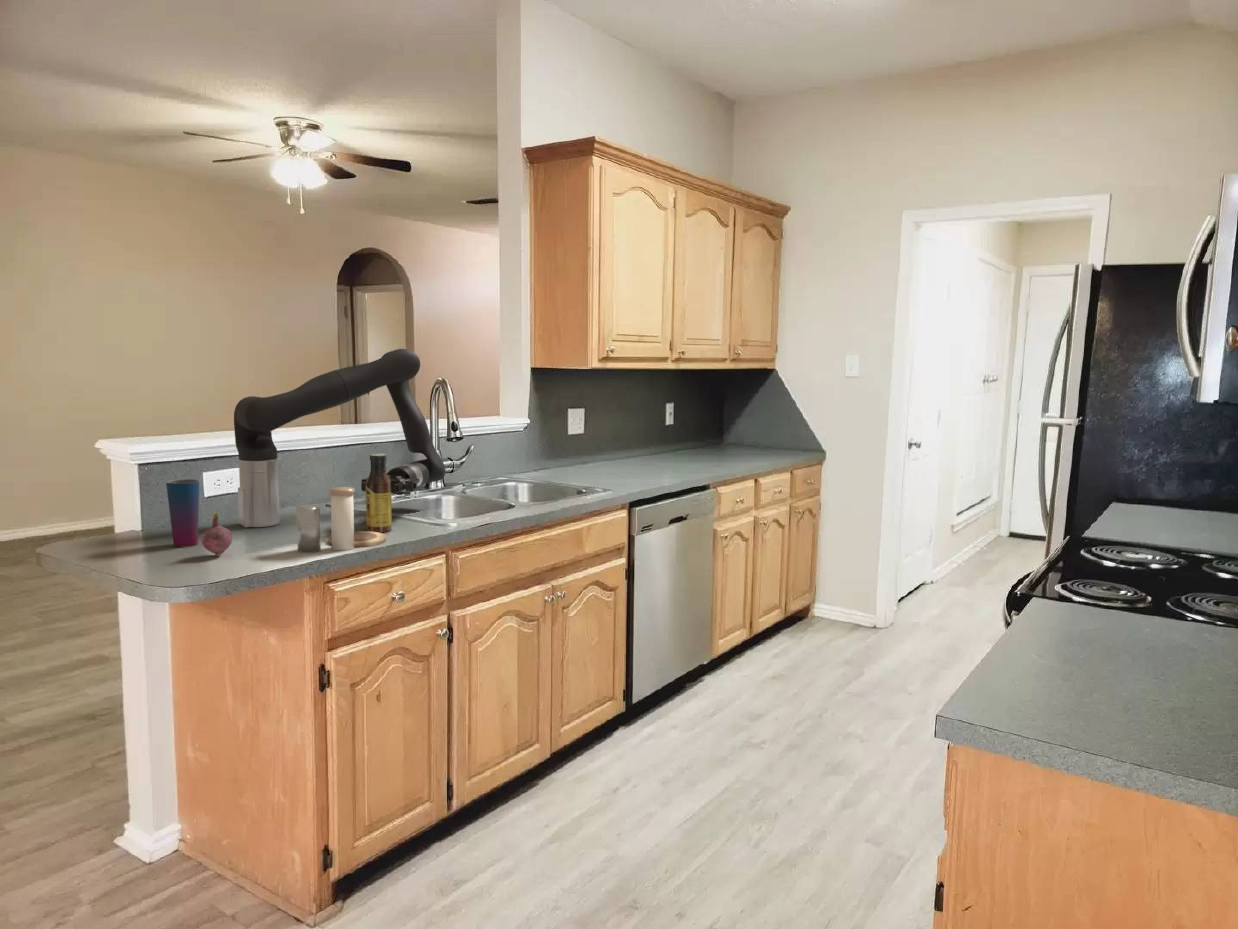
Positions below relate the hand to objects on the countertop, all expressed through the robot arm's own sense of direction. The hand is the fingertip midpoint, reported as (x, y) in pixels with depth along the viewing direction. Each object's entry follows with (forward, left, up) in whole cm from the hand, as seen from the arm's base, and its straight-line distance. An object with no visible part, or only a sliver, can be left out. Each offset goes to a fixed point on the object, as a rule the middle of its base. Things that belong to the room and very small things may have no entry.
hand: (379, 488), depth 213 cm
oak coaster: (-9, -9, -11) cm, 17 cm away
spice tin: (-21, -12, -11) cm, 27 cm away
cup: (-44, +7, -11) cm, 46 cm away
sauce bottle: (0, 0, -11) cm, 11 cm away
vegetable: (-40, -8, -11) cm, 42 cm away
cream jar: (-14, -14, -11) cm, 23 cm away
